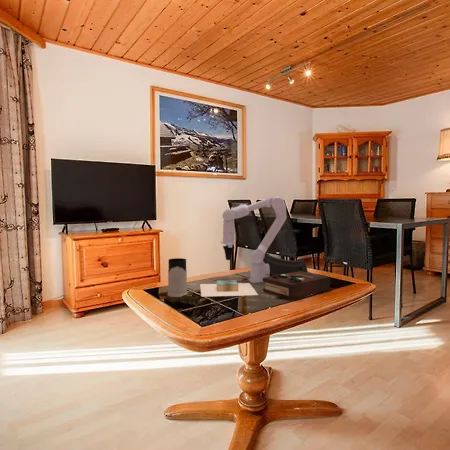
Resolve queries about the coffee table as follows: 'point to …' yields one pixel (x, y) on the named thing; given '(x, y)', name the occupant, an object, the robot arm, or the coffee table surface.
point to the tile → (227, 285)
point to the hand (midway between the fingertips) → (228, 259)
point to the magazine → (284, 265)
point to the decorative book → (296, 284)
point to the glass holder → (177, 277)
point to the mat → (212, 290)
